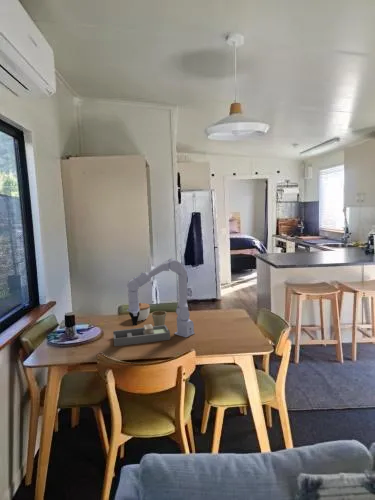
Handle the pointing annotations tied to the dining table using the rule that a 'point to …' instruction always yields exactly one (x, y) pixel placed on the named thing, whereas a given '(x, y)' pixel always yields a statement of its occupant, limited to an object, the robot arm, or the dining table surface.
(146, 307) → the lidded bowl
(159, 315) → the flower pot
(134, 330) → the channel
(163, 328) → the pad
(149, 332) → the cream block
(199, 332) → the dining table surface
